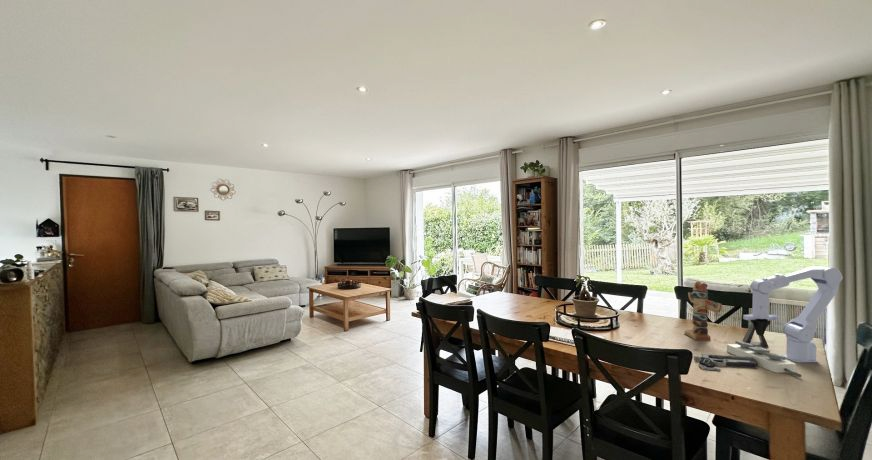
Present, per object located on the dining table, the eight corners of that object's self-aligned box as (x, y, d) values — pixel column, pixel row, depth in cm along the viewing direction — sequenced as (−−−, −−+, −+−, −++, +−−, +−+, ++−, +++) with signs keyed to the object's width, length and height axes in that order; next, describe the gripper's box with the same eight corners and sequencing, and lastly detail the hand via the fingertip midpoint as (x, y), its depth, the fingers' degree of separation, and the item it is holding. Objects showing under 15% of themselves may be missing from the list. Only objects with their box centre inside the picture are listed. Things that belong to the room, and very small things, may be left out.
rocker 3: (775, 356, 157) (776, 354, 156) (784, 360, 153) (785, 357, 152) (762, 354, 156) (763, 351, 156) (771, 358, 152) (772, 355, 152)
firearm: (770, 369, 147) (748, 354, 162) (702, 365, 153) (687, 350, 167) (770, 377, 147) (748, 361, 162) (702, 372, 153) (686, 357, 168)
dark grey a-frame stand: (765, 343, 183) (765, 320, 183) (768, 347, 178) (768, 323, 178) (742, 340, 188) (742, 318, 188) (745, 344, 183) (745, 321, 182)
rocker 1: (747, 345, 171) (747, 342, 170) (754, 348, 167) (755, 345, 166) (735, 343, 170) (735, 340, 170) (742, 346, 166) (743, 343, 166)
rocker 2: (761, 349, 164) (761, 347, 163) (769, 353, 160) (769, 350, 159) (748, 349, 163) (748, 346, 163) (756, 352, 159) (756, 350, 159)
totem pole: (675, 328, 209) (676, 277, 208) (689, 329, 208) (690, 278, 207) (705, 346, 181) (706, 287, 180) (722, 346, 180) (722, 287, 179)
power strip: (744, 351, 174) (745, 342, 174) (811, 378, 144) (811, 368, 144) (726, 351, 173) (726, 343, 173) (789, 379, 143) (789, 368, 143)
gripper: (753, 308, 161) (752, 338, 161) (784, 308, 161) (783, 337, 162) (739, 304, 168) (738, 333, 168) (769, 304, 168) (768, 332, 169)
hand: (759, 335), depth 165 cm, fingers closed
